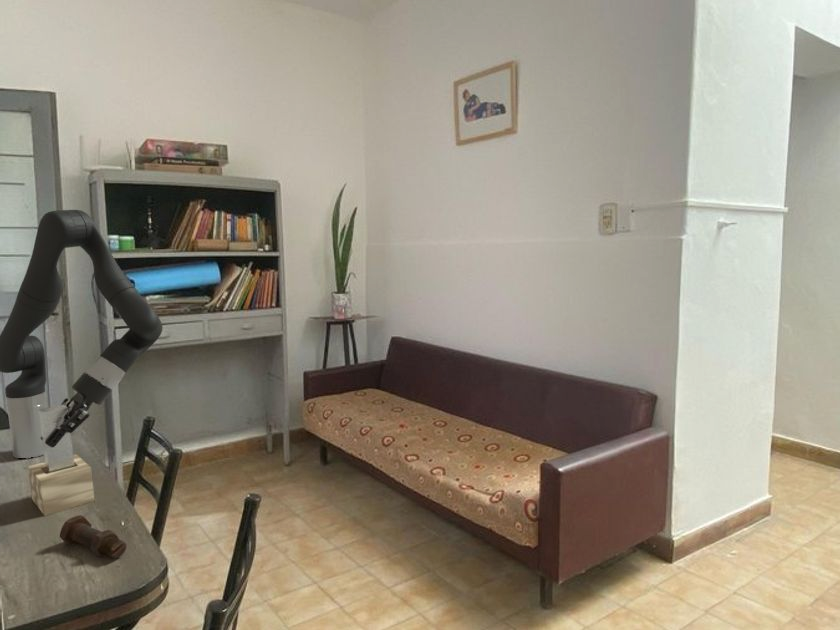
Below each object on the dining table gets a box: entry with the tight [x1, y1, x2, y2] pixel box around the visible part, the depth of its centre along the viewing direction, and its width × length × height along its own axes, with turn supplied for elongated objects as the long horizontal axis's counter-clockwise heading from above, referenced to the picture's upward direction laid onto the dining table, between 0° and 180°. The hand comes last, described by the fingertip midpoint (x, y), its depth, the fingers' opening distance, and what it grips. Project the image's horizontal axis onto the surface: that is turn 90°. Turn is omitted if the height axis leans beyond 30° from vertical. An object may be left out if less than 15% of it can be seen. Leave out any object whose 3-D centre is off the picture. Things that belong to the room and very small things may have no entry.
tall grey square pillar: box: [39, 404, 74, 473], centre depth 136 cm, size 4×5×14 cm
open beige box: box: [28, 454, 95, 517], centre depth 137 cm, size 12×10×8 cm
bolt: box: [59, 514, 127, 559], centre depth 115 cm, size 6×5×15 cm
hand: (46, 442), depth 135 cm, fingers closed on tall grey square pillar, 3 cm apart
